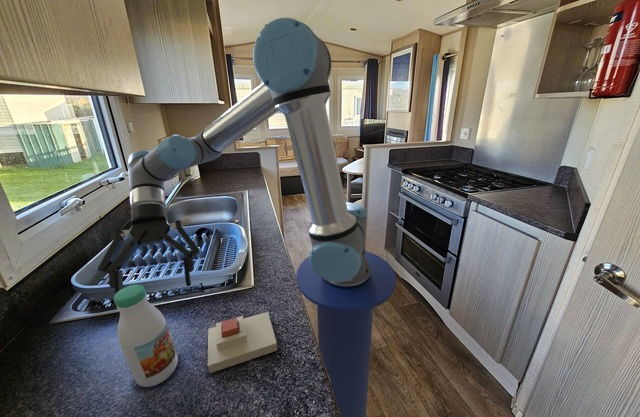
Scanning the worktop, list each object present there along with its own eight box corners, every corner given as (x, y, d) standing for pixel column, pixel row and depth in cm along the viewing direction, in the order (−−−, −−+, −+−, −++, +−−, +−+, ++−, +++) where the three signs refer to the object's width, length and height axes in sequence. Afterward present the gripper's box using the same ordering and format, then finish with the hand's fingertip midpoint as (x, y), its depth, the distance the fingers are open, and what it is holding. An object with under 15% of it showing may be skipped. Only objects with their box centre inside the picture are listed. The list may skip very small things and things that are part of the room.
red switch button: (237, 323, 60) (236, 317, 60) (238, 333, 58) (237, 327, 57) (222, 327, 59) (221, 321, 59) (223, 338, 56) (222, 332, 56)
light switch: (268, 318, 66) (267, 305, 65) (277, 350, 57) (276, 336, 56) (209, 335, 62) (206, 322, 60) (209, 373, 53) (205, 359, 51)
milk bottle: (132, 395, 49) (95, 313, 42) (139, 361, 56) (108, 285, 48) (177, 378, 52) (150, 298, 45) (179, 348, 59) (156, 274, 51)
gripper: (203, 207, 74) (214, 281, 67) (94, 221, 64) (94, 310, 58) (201, 195, 68) (213, 276, 61) (79, 209, 58) (77, 307, 51)
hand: (155, 293), depth 59 cm, fingers open, 13 cm apart
